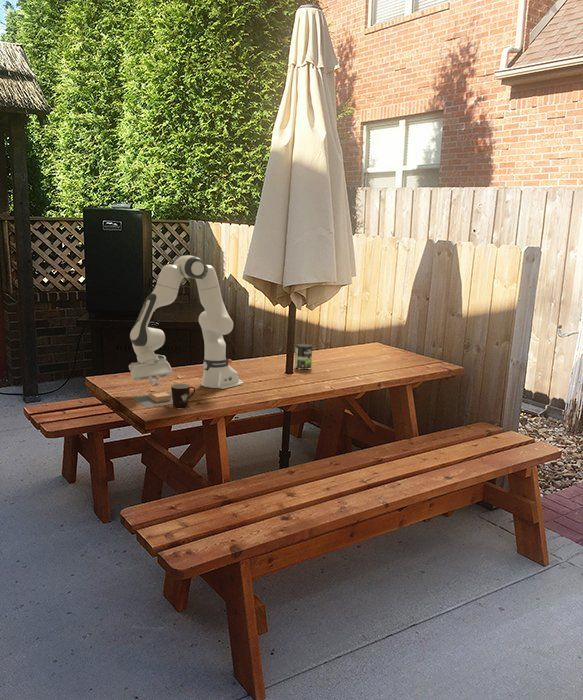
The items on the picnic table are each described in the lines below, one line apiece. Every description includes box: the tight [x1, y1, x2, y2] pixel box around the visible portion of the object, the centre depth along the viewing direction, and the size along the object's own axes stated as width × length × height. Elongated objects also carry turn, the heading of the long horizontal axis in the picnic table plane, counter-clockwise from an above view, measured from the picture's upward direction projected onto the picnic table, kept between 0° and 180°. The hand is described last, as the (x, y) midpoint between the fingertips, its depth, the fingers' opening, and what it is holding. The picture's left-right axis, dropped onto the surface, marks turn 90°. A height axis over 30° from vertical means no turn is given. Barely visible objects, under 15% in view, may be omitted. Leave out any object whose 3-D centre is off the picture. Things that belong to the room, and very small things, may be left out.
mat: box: [129, 390, 173, 408], centre depth 307 cm, size 22×18×1 cm
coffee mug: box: [170, 383, 196, 409], centre depth 297 cm, size 12×9×10 cm
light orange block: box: [148, 390, 171, 402], centre depth 306 cm, size 7×3×9 cm
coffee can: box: [294, 343, 313, 370], centre depth 382 cm, size 10×10×14 cm
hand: (156, 385), depth 308 cm, fingers closed
